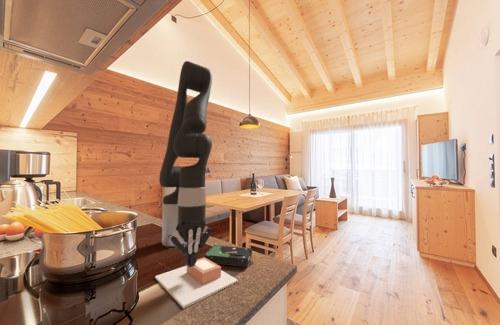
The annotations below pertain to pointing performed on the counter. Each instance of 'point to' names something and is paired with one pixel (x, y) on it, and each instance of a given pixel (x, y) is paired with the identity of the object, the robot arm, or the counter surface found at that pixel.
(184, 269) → the mat
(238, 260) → the disk drive
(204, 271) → the deck box
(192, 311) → the counter surface
